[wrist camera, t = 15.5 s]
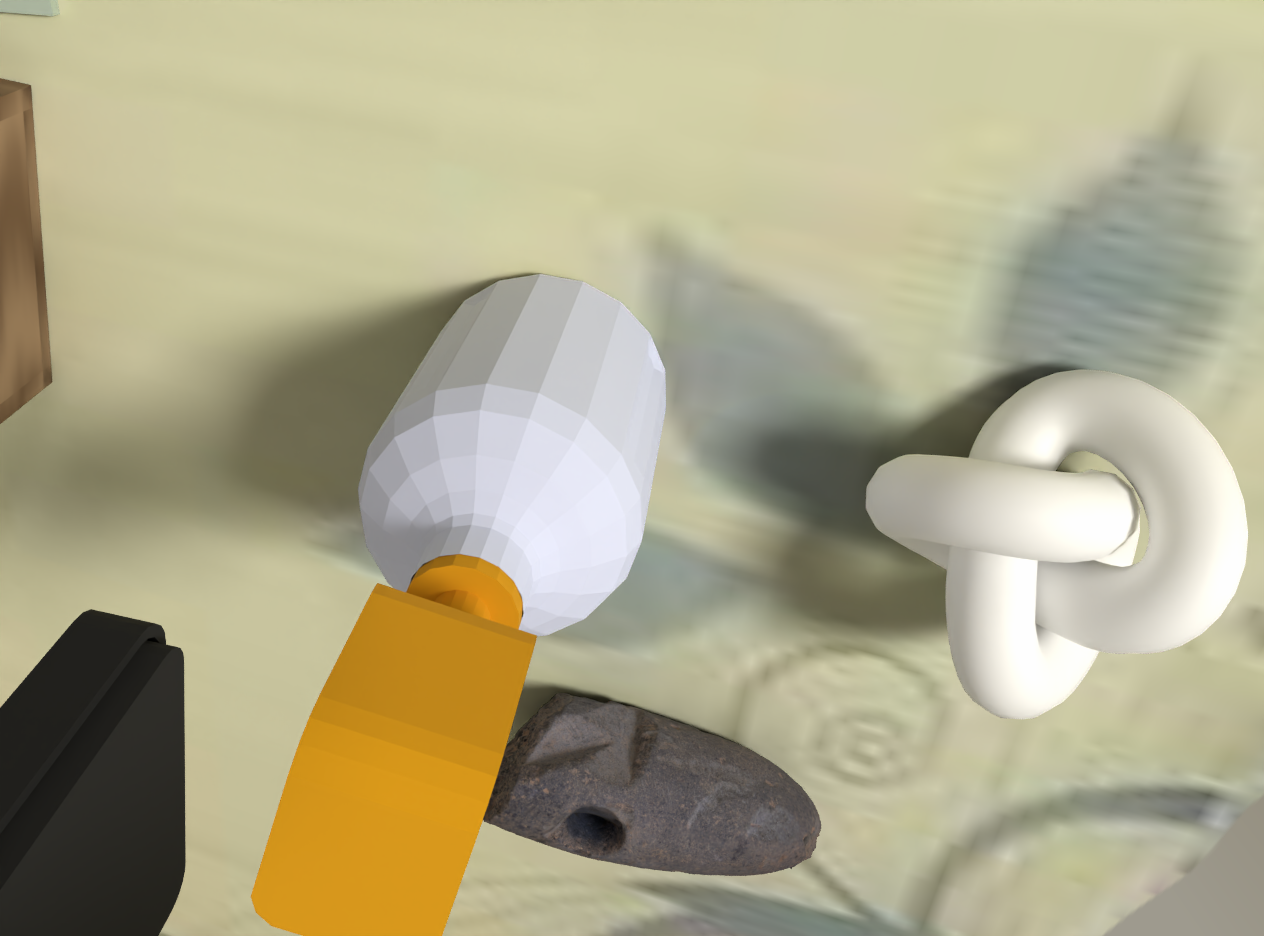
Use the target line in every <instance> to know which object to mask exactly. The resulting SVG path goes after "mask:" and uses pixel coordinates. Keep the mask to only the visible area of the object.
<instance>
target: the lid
mask: <svg viewBox="0 0 1264 936" xmlns="http://www.w3.org/2000/svg"><path fill="white" fill-rule="evenodd" d="M0 12H7V13H20V14H33V15H46V16H55V15H58V14H60V12H59V6H58V1H57V0H0Z"/></svg>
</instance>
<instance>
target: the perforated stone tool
mask: <svg viewBox="0 0 1264 936" xmlns="http://www.w3.org/2000/svg"><path fill="white" fill-rule="evenodd" d="M483 820H484V822H487V823H489V824H493V825H496V826H497V827H500V828H502V829H504V830H507V831H509V832H512V833H515V834H516V835H519V836H522V837H525V838H528V839H531V840H534V841H536V842H539V843H542V844H545V845H548V846H551V847H554V848H558V849H560V850H563V851H567V852H570V853H573V854H577V855H580V856H583V857H587V858H591V859H596V860H601V861H607V862H612V863H617V864H623V865H628V866H634V867H639V868H647V869H653V870H662V871H671V872H675V871H679V872H684V873H689V874H702V875H725V876H747V875H758V874H766V873H772V872H776V871H779V870H784V869H786V868H791V869H792V867H795V866H796V865H797V864H799V863H801V862H802V861H803V860H806V859H808V858H810V857H811V855H812V852H813V851H814V849H815V848H816V842H817V841H816V840H817V837H818V836H819V833H820V831H821V830H820V829H821V821H820V818H819V814H818V812H817V809H816V807H815V805H814V803H813V802H812V800H811V799H810V798H809V796H808V795H807V793H806V792H805V791H804V790H803V788H802V787H801V786H800V785H799V784H798V783H796V782H795V781H794V780H793V779H792V778H791V777H790V776H789V775H788V774H787V773H785V772H784V771H783V770H782V769H780V768H779V767H778V766H776V765H775V764H773V763H772V762H771V761H769V760H767V759H766V758H764V757H762V756H760V755H759V754H757V753H755V752H753V751H752V750H750V749H748V748H746V747H743V746H741V745H739V744H737V743H735V742H732V741H729V740H727V739H724V738H722V737H719V736H716V735H713V734H709V733H704V732H702V731H699V730H698V729H697V728H694V727H692V726H689V725H686V724H683V723H679V722H676V721H673V720H671V719H668V718H665V717H663V716H660V715H657V714H653V713H650V712H648V711H646V710H643V709H639V708H636V707H632V706H624V705H622V704H620V703H616V702H613V701H608V702H606V703H602V702H598V701H596V700H593V699H588V698H583V697H582V698H581V697H577V696H572V695H569V694H567V693H558V694H556V695H555V696H554V697H553V698H552V699H551V700H550V702H548V703H546V704H545V705H543V707H541V708H540V709H539V711H538V712H537V714H536V715H534V716H533V717H532V718H531V719H530V720H529V721H528V722H527V723H526V724H525V725H524V726H523V727H521V728H520V729H519V731H518V732H517V733H516V736H515V738H514V739H513V740H512V741H510V742H509V743H508V744H507V745H506V748H505V751H504V755H503V758H502V762H501V765H500V768H499V772H498V775H497V778H496V781H495V784H494V787H493V791H492V794H491V797H490V800H489V803H488V806H487V809H486V812H485V815H484V818H483Z"/></svg>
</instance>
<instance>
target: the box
mask: <svg viewBox="0 0 1264 936" xmlns="http://www.w3.org/2000/svg"><path fill="white" fill-rule="evenodd" d="M50 383H52V373H51V359H50V345H49V331H48V317H47V303H46V289H45V276H44V262H43V248H42V234H41V220H40V206H39V192H38V178H37V164H36V150H35V136H34V122H33V108H32V94H31V85H28V84H23V83H19V82H14V81H10V80H5V79H1V78H0V424H1V423H2V422H3V421H5V420H6V419H7V418H8V417H10V416H11V415H12V414H13V413H15V412H16V411H17V410H18V409H19V408H21V407H22V406H23V405H24V404H26V403H27V402H28V401H29V400H31V399H32V398H33V397H34V396H35V395H37V394H38V393H39V392H40V391H42V390H43V389H44V388H45V387H47V386H48V385H49V384H50Z"/></svg>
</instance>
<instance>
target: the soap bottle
mask: <svg viewBox="0 0 1264 936" xmlns="http://www.w3.org/2000/svg"><path fill="white" fill-rule="evenodd" d="M665 410H666V385H665V369H664V366H663V364H662V361H661V359H660V357H659V354H658V352H657V349H656V347H655V344H654V342H653V340H652V337H651V335H650V333H649V332H648V331H647V330H646V329H645V328H644V326H643V325H642V324H641V323H640V322H639V321H638V320H637V319H636V318H635V317H634V316H633V314H632V313H631V312H630V311H629V310H628V309H627V308H626V307H625V306H624V305H623V303H622V302H620V301H618V300H616V299H614V298H613V297H611V296H609V295H607V294H605V293H603V292H602V291H600V290H598V289H596V288H594V287H592V286H591V285H589V284H587V283H585V282H583V281H578V280H572V279H566V278H561V277H555V276H549V275H544V274H537V275H531V276H525V277H518V278H512V279H506V280H500V281H498V282H496V283H494V284H492V285H491V286H489V287H487V288H485V289H484V290H482V291H480V292H478V293H477V294H475V295H473V296H471V297H470V298H468V299H466V300H465V301H464V302H463V303H462V304H461V306H460V307H459V308H458V310H457V311H456V312H455V313H454V315H453V316H452V317H451V319H450V320H449V321H448V322H447V324H446V325H445V326H444V328H443V329H442V330H441V332H440V333H439V335H438V337H437V338H436V340H435V341H434V343H433V345H432V346H431V348H430V349H429V351H428V353H427V354H426V356H425V357H424V359H423V361H422V362H421V364H420V365H419V367H418V369H417V370H416V372H415V373H414V375H413V377H412V378H411V380H410V381H409V383H408V385H407V386H406V388H405V389H404V391H403V392H402V394H401V396H400V397H399V399H398V400H397V402H396V404H395V405H394V407H393V408H392V410H391V412H390V413H389V415H388V416H387V418H386V420H385V421H384V423H383V424H382V426H381V428H380V429H379V431H378V432H377V434H376V436H375V437H374V439H373V440H372V442H371V444H370V445H369V447H368V449H367V454H366V458H365V462H364V466H363V470H362V474H361V478H360V482H359V487H358V494H359V504H360V511H361V517H362V523H363V529H364V535H365V540H366V546H367V548H368V550H369V552H370V553H371V555H372V557H373V558H374V560H375V562H376V563H377V565H378V567H379V569H380V570H381V572H382V574H383V575H384V577H385V579H386V581H387V582H388V583H389V584H390V585H391V586H392V587H393V588H391V587H388V586H385V585H382V584H379V583H377V585H376V586H375V588H374V590H373V591H372V593H371V595H370V597H369V599H368V601H367V603H366V605H365V607H364V609H363V611H362V613H361V614H360V616H359V618H358V620H357V622H356V624H355V626H354V628H353V630H352V632H351V634H350V636H349V638H348V640H347V642H346V644H345V646H344V648H343V650H342V652H341V654H340V656H339V658H338V660H337V662H336V664H335V666H334V668H333V670H332V672H331V674H330V676H329V678H328V679H327V681H326V683H325V685H324V687H323V689H322V691H321V693H320V695H319V697H318V700H317V702H316V704H315V706H314V708H313V710H312V713H311V715H310V717H309V719H308V722H307V725H306V727H305V730H304V732H303V735H302V737H301V740H300V742H299V745H298V748H297V751H296V754H295V757H294V759H293V762H292V765H291V768H290V771H289V774H288V777H287V780H286V784H285V787H284V790H283V793H282V797H281V800H280V803H279V806H278V810H277V813H276V816H275V819H274V823H273V826H272V829H271V832H270V836H269V839H268V842H267V845H266V849H265V852H264V855H263V859H262V862H261V865H260V868H259V872H258V875H257V878H256V881H255V885H254V888H253V891H252V894H251V898H252V902H253V905H254V908H255V911H256V913H257V914H258V915H259V916H261V917H262V918H263V919H264V920H265V921H266V922H267V923H269V924H270V925H271V926H273V927H276V928H280V929H283V930H286V931H289V932H293V933H296V934H299V935H302V936H442V934H443V931H444V928H445V926H446V923H447V920H448V917H449V914H450V912H451V909H452V906H453V903H454V900H455V897H456V895H457V892H458V889H459V886H460V883H461V880H462V878H463V875H464V872H465V869H466V866H467V864H468V861H469V858H470V855H471V852H472V849H473V847H474V844H475V841H476V838H477V835H478V832H479V829H480V827H481V824H482V821H483V818H484V815H485V812H486V809H487V806H488V803H489V800H490V797H491V794H492V791H493V787H494V784H495V781H496V778H497V775H498V772H499V768H500V765H501V762H502V758H503V755H504V751H505V748H506V744H507V741H508V737H509V734H510V730H511V727H512V723H513V720H514V716H515V713H516V709H517V706H518V702H519V699H520V695H521V692H522V688H523V685H524V681H525V678H526V674H527V671H528V667H529V664H530V660H531V657H532V653H533V650H534V646H535V642H536V638H537V636H544V635H549V634H551V633H553V632H556V631H558V630H560V629H563V628H565V627H567V626H569V625H572V624H574V623H576V622H578V621H581V620H583V619H585V618H586V617H587V616H588V615H589V614H590V613H591V612H592V611H594V610H595V609H596V608H597V607H598V606H599V605H600V604H601V603H602V602H603V601H604V600H605V599H606V598H607V597H608V596H609V595H610V594H611V593H612V592H613V591H614V590H615V589H616V588H617V587H618V586H619V585H620V584H621V583H622V582H623V581H624V580H625V579H626V578H627V576H628V573H629V571H630V568H631V566H632V563H633V561H634V558H635V556H636V554H637V551H638V549H639V546H640V544H641V541H642V537H643V532H644V526H645V521H646V515H647V510H648V504H649V499H650V493H651V488H652V482H653V477H654V471H655V465H656V460H657V454H658V449H659V443H660V438H661V432H662V427H663V421H664V416H665Z"/></svg>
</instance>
